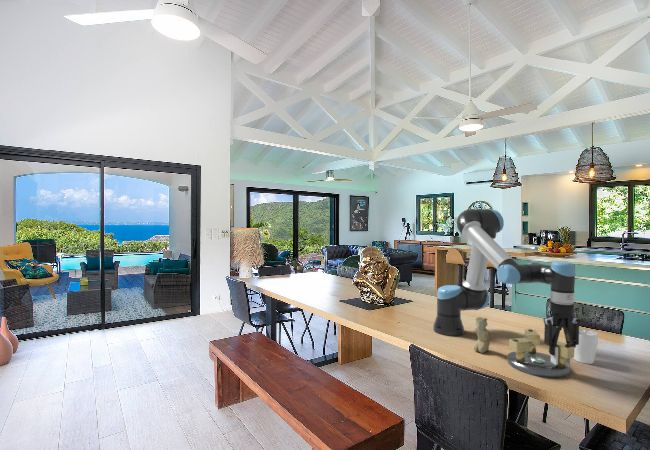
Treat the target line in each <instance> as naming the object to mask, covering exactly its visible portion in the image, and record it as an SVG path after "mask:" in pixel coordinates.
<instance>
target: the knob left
mask: <svg viewBox="0 0 650 450" xmlns="http://www.w3.org/2000/svg"><path fill="white" fill-rule="evenodd" d="M508 349H509V350H510V351H511V352H516V362H517V363H520V364H524V363H525V352H531V351H532V341H531V340H528V339H526V338H525V337H518V338H517V337H515V338H509V339H508Z"/></svg>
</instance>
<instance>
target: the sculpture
mask: <svg viewBox="0 0 650 450" xmlns="http://www.w3.org/2000/svg"><path fill="white" fill-rule="evenodd" d="M475 321H476V322H475V326H476V327H475V329H474V331H475V333H476V335H477V339H476V341H475V343H474V345H473V350H474V351H475V352H479V353H481V354H482V353H483V354H484V353H485V352H489V350H490V344H491V343H490V336H491V333H490V331H489V330H488V329H487V326H488V322H487V321H488V318H486V317H482V316H478V317H476V318H475Z"/></svg>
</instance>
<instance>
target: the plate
mask: <svg viewBox="0 0 650 450" xmlns="http://www.w3.org/2000/svg"><path fill="white" fill-rule="evenodd" d="M507 363H508V365H509V366H511V367H512V368H514V369H515V370H517V371H519V372H521V373H525V374H527V375H530V376H535V377H540V378H547V379H563V378H567V377H568V376H569V375H570V364H568V363H566V368H565V369H563V368H558V367H557V366H556V365H555V364H553V363H552V362H551V354H547V353H541V352H537V351H536V354H529V353H528V352H525V363H524V364H520V363H517V362H516V352H514V351H511V352H509V353H508V354H507ZM562 377H563V378H562Z"/></svg>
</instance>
